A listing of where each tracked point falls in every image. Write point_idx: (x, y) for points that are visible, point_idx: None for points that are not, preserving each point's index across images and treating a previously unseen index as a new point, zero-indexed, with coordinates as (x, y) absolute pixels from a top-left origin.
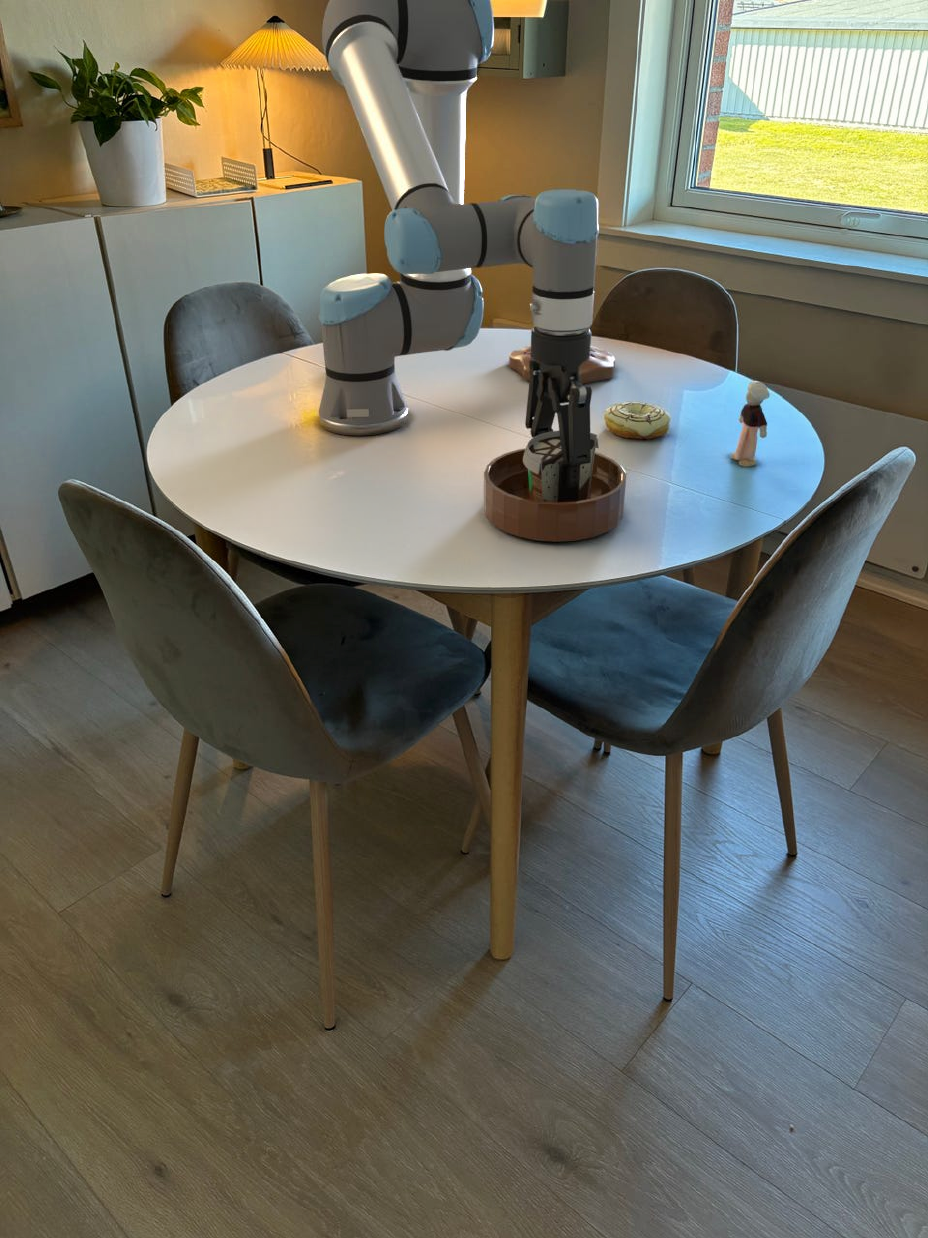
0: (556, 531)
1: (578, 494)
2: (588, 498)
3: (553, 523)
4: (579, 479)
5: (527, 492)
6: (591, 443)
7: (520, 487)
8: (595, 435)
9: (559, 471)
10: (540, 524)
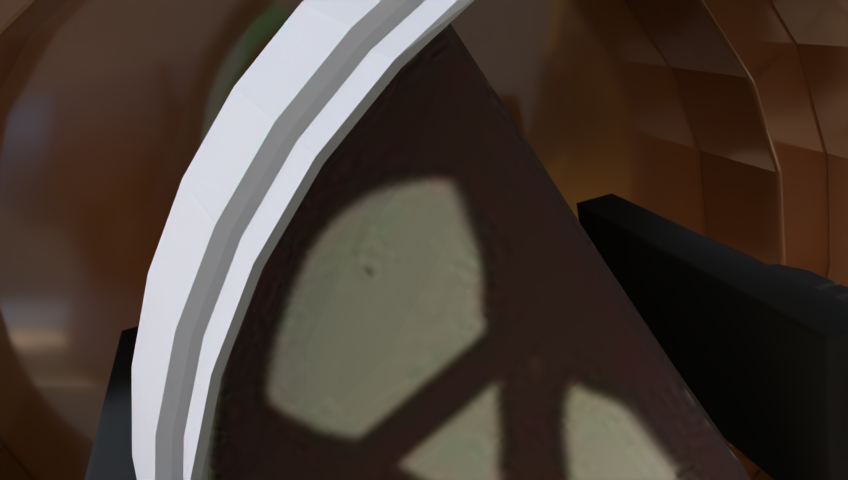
0: None
1: (658, 216)
2: (239, 6)
3: None
4: (740, 253)
5: (89, 422)
6: (483, 81)
7: (19, 471)
8: (462, 4)
9: (773, 469)
10: None
